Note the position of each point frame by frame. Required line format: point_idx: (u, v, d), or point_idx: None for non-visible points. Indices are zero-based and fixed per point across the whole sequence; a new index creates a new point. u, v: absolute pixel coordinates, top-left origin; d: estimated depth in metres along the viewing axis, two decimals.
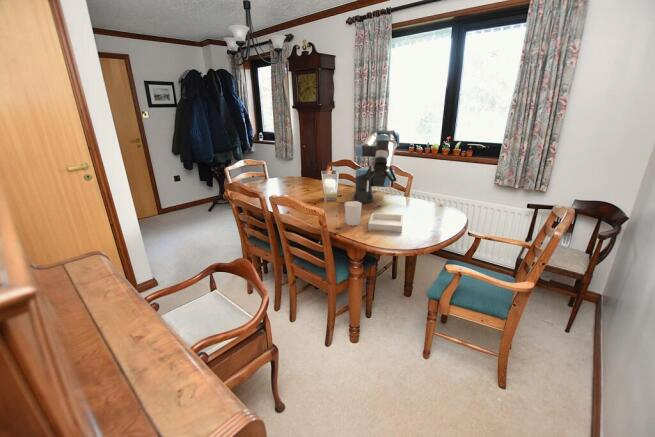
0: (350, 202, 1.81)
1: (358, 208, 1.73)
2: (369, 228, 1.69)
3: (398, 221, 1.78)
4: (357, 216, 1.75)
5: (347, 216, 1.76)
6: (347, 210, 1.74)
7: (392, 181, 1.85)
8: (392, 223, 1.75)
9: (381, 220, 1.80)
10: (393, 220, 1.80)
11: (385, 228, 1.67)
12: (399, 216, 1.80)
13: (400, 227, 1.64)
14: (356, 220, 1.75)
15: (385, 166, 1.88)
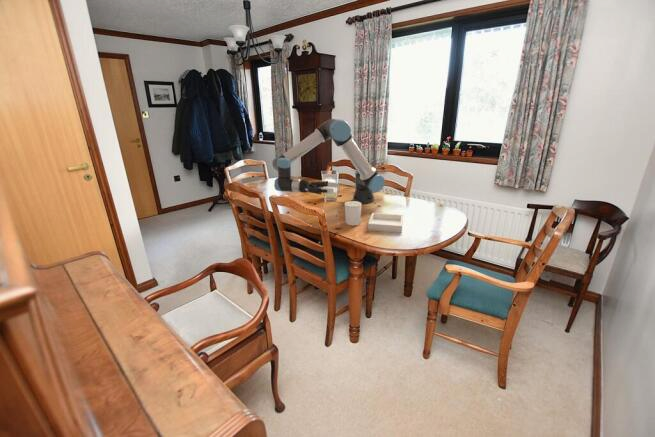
0: (350, 202, 1.81)
1: (358, 208, 1.73)
2: (369, 228, 1.69)
3: (398, 221, 1.78)
4: (357, 216, 1.75)
5: (347, 216, 1.76)
6: (347, 210, 1.74)
7: None
8: (392, 223, 1.75)
9: (381, 220, 1.80)
10: (393, 220, 1.80)
11: (385, 228, 1.67)
12: (399, 216, 1.80)
13: (400, 227, 1.64)
14: (356, 220, 1.75)
15: None
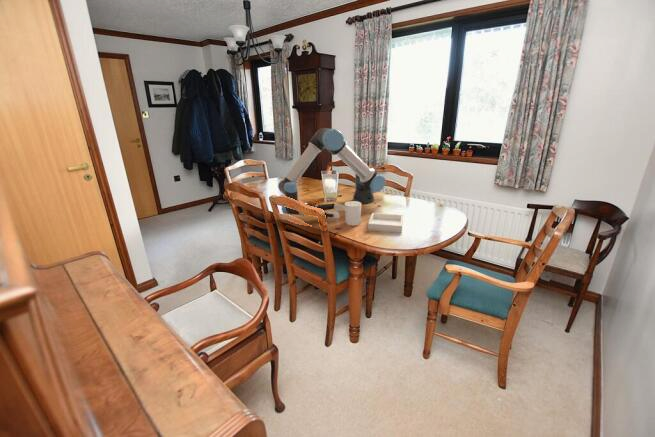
0: (350, 202, 1.81)
1: (358, 208, 1.73)
2: (369, 228, 1.69)
3: (398, 221, 1.78)
4: (357, 216, 1.75)
5: (347, 216, 1.76)
6: (347, 210, 1.74)
7: (327, 216, 1.74)
8: (392, 223, 1.75)
9: (381, 220, 1.80)
10: (393, 220, 1.80)
11: (385, 228, 1.67)
12: (399, 216, 1.80)
13: (400, 227, 1.64)
14: (356, 220, 1.75)
15: None
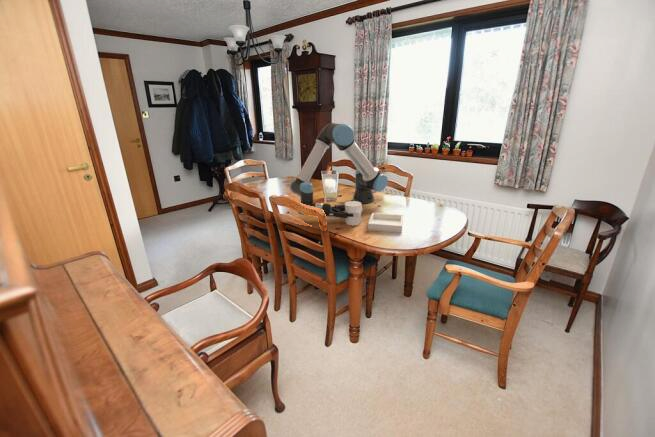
0: (350, 202, 1.81)
1: (358, 208, 1.73)
2: (369, 228, 1.69)
3: (398, 221, 1.78)
4: None
5: None
6: (347, 210, 1.74)
7: None
8: (392, 223, 1.75)
9: (381, 220, 1.80)
10: (393, 220, 1.80)
11: (385, 228, 1.67)
12: (399, 216, 1.80)
13: (400, 227, 1.64)
14: (356, 220, 1.75)
15: None
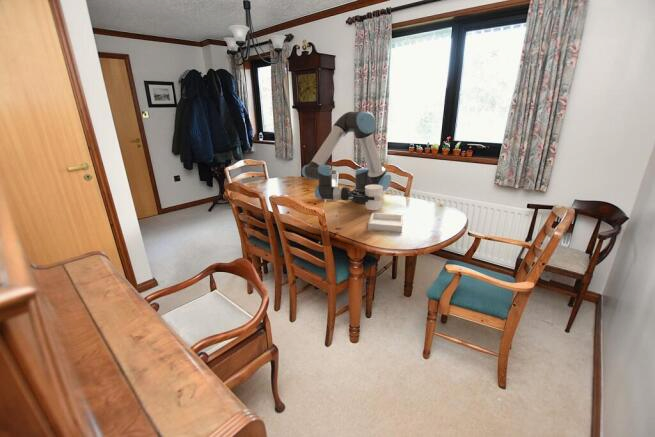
0: (370, 185, 1.72)
1: (380, 191, 1.65)
2: (369, 228, 1.69)
3: (398, 221, 1.78)
4: None
5: None
6: (368, 193, 1.66)
7: (368, 199, 1.65)
8: (392, 223, 1.75)
9: (381, 220, 1.80)
10: (393, 220, 1.80)
11: (385, 228, 1.67)
12: (399, 216, 1.80)
13: (400, 227, 1.64)
14: (377, 204, 1.67)
15: None
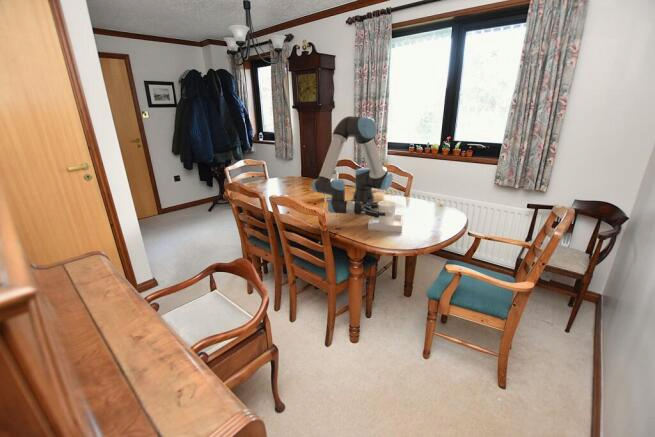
0: (383, 202, 1.75)
1: (393, 208, 1.68)
2: (369, 228, 1.69)
3: (398, 221, 1.78)
4: None
5: (381, 216, 1.71)
6: (381, 210, 1.69)
7: None
8: None
9: None
10: None
11: (385, 228, 1.67)
12: (399, 216, 1.80)
13: (400, 227, 1.64)
14: (390, 220, 1.70)
15: None
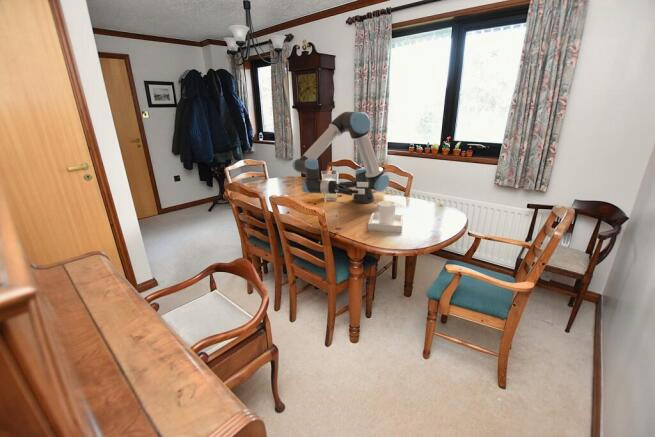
0: (383, 202, 1.75)
1: (393, 208, 1.68)
2: (369, 228, 1.69)
3: (398, 221, 1.78)
4: (391, 217, 1.70)
5: (381, 217, 1.71)
6: (381, 210, 1.69)
7: (352, 192, 1.65)
8: None
9: None
10: None
11: (385, 228, 1.67)
12: (399, 216, 1.80)
13: (400, 227, 1.64)
14: (390, 221, 1.70)
15: None
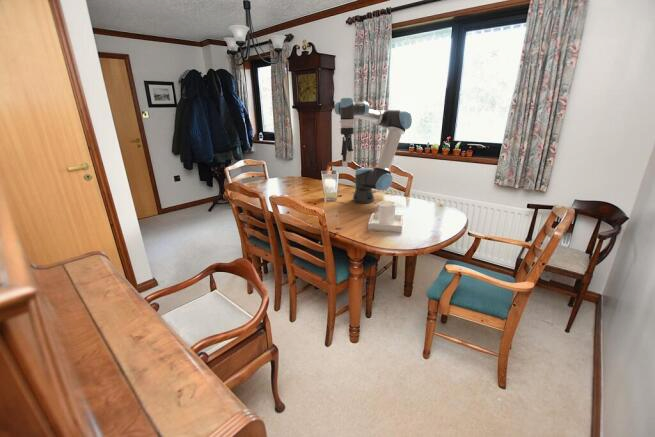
0: (383, 202, 1.75)
1: (393, 208, 1.68)
2: (369, 228, 1.69)
3: (398, 221, 1.78)
4: (391, 217, 1.70)
5: (381, 216, 1.71)
6: (381, 210, 1.69)
7: (343, 155, 1.73)
8: None
9: None
10: None
11: (385, 228, 1.67)
12: (399, 216, 1.80)
13: (400, 227, 1.64)
14: (390, 221, 1.70)
15: (344, 137, 1.74)
